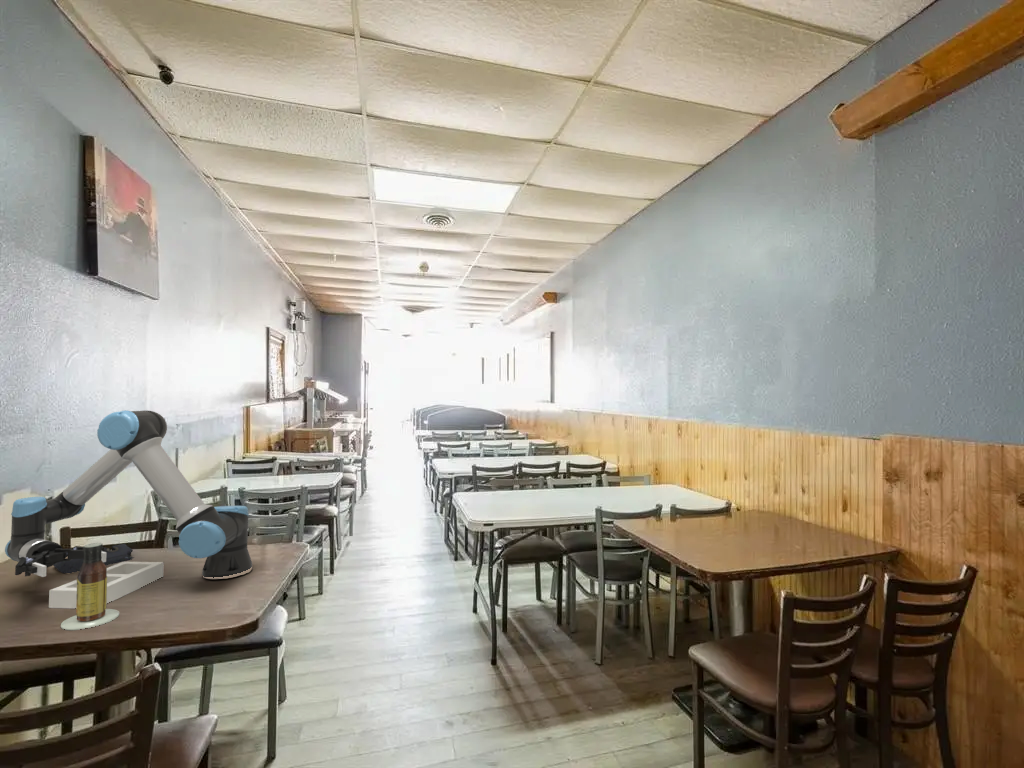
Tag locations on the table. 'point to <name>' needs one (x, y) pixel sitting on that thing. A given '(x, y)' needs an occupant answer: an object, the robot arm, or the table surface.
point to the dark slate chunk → (112, 557)
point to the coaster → (77, 625)
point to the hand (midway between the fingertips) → (76, 564)
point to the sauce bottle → (91, 584)
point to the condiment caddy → (111, 583)
